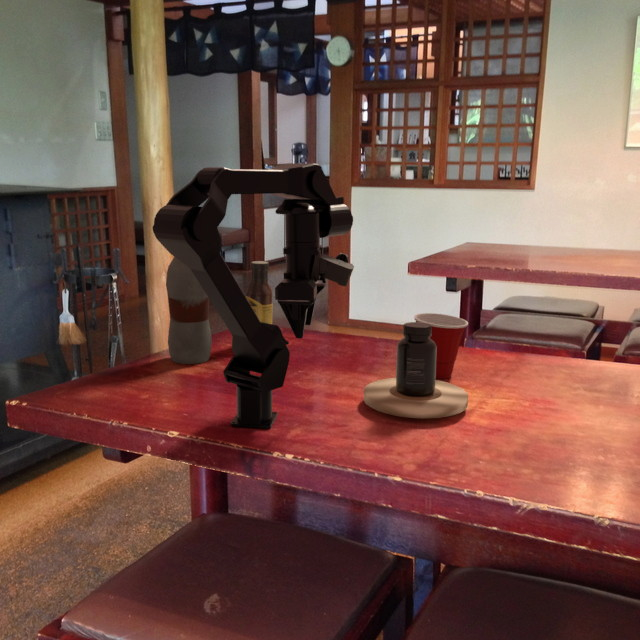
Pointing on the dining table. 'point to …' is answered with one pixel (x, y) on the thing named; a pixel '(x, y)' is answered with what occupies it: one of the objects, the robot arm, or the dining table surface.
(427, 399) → the disc
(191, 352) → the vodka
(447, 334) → the plastic cup
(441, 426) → the dining table surface
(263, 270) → the sauce bottle
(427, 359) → the supplement bottle
